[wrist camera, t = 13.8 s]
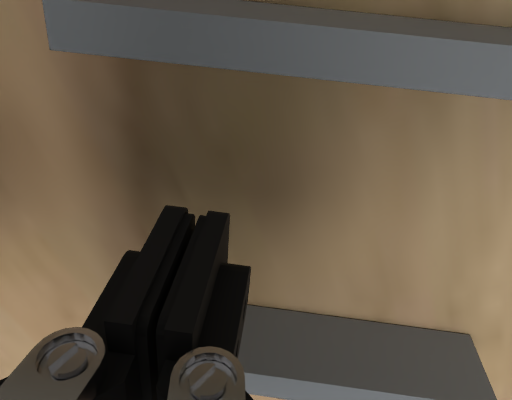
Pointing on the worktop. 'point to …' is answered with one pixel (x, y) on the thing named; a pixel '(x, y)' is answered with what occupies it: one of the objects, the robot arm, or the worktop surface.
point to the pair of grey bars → (325, 68)
